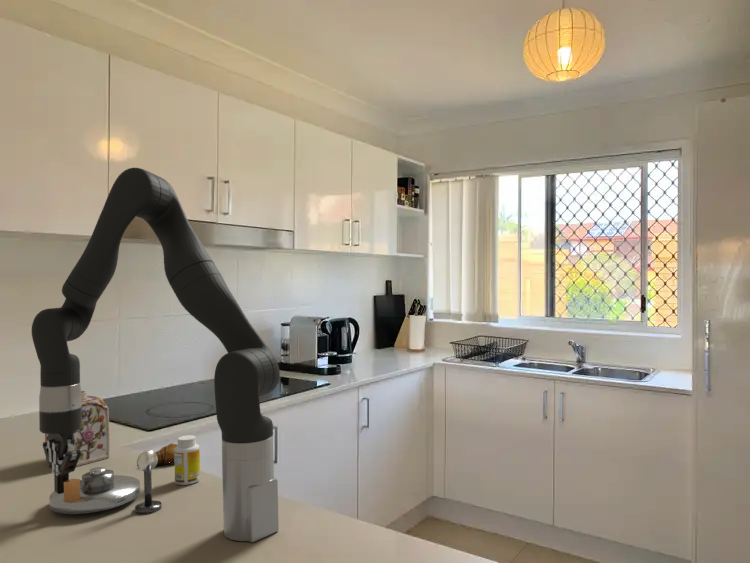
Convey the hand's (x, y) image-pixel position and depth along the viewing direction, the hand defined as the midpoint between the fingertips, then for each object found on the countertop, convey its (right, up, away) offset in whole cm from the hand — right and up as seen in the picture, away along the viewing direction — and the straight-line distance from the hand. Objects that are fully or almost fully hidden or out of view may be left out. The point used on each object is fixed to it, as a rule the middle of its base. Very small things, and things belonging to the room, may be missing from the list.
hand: (61, 491), depth 115 cm
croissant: (+11, -4, +32) cm, 34 cm away
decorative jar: (-15, -5, +35) cm, 39 cm away
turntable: (+5, -3, +4) cm, 7 cm away
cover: (+5, -1, +4) cm, 7 cm away
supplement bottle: (+20, -4, +17) cm, 26 cm away
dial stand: (+17, -4, +1) cm, 18 cm away
